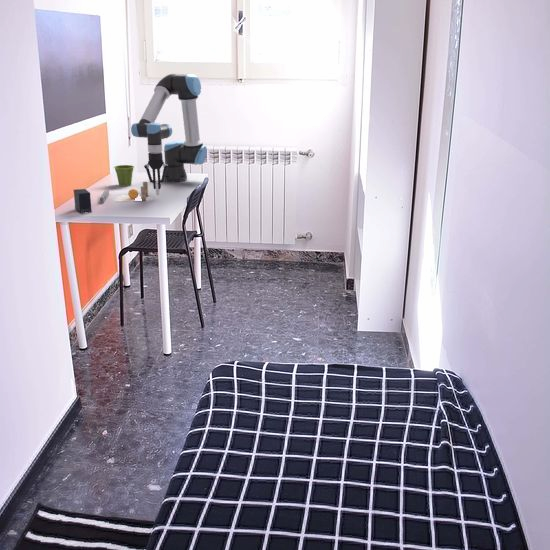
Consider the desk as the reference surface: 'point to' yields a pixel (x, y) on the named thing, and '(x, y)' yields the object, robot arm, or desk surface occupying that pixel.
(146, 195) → the post
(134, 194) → the ball
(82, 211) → the small box
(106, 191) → the stopper wall
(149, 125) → the robot arm
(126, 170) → the plant pot
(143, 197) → the post
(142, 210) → the desk surface
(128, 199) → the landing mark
